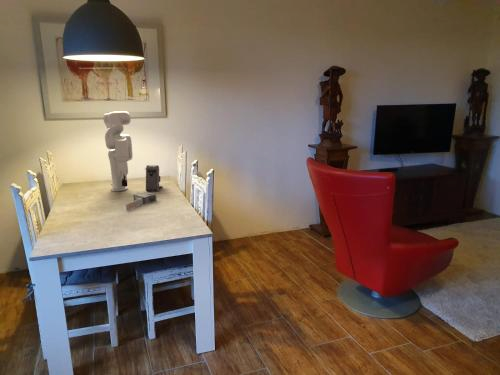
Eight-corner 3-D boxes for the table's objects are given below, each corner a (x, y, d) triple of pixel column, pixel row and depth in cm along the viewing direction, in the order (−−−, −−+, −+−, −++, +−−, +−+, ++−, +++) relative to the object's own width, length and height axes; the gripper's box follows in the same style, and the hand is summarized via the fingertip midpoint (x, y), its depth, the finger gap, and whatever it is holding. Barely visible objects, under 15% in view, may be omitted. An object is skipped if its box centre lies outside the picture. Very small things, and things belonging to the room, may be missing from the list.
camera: (164, 191, 298) (164, 166, 298) (157, 191, 281) (157, 165, 281) (151, 191, 299) (151, 166, 299) (143, 191, 282) (143, 165, 282)
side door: (127, 211, 237) (127, 204, 236) (126, 211, 237) (125, 204, 236) (144, 203, 253) (143, 197, 252) (142, 203, 253) (142, 196, 252)
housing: (133, 201, 260) (133, 193, 258) (145, 197, 268) (144, 190, 266) (145, 204, 252) (145, 196, 251) (157, 200, 260) (156, 193, 259)
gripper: (118, 156, 247) (120, 183, 252) (114, 161, 233) (116, 189, 238) (130, 156, 248) (132, 182, 253) (126, 161, 234) (128, 189, 239)
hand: (124, 186), depth 245 cm, fingers closed
